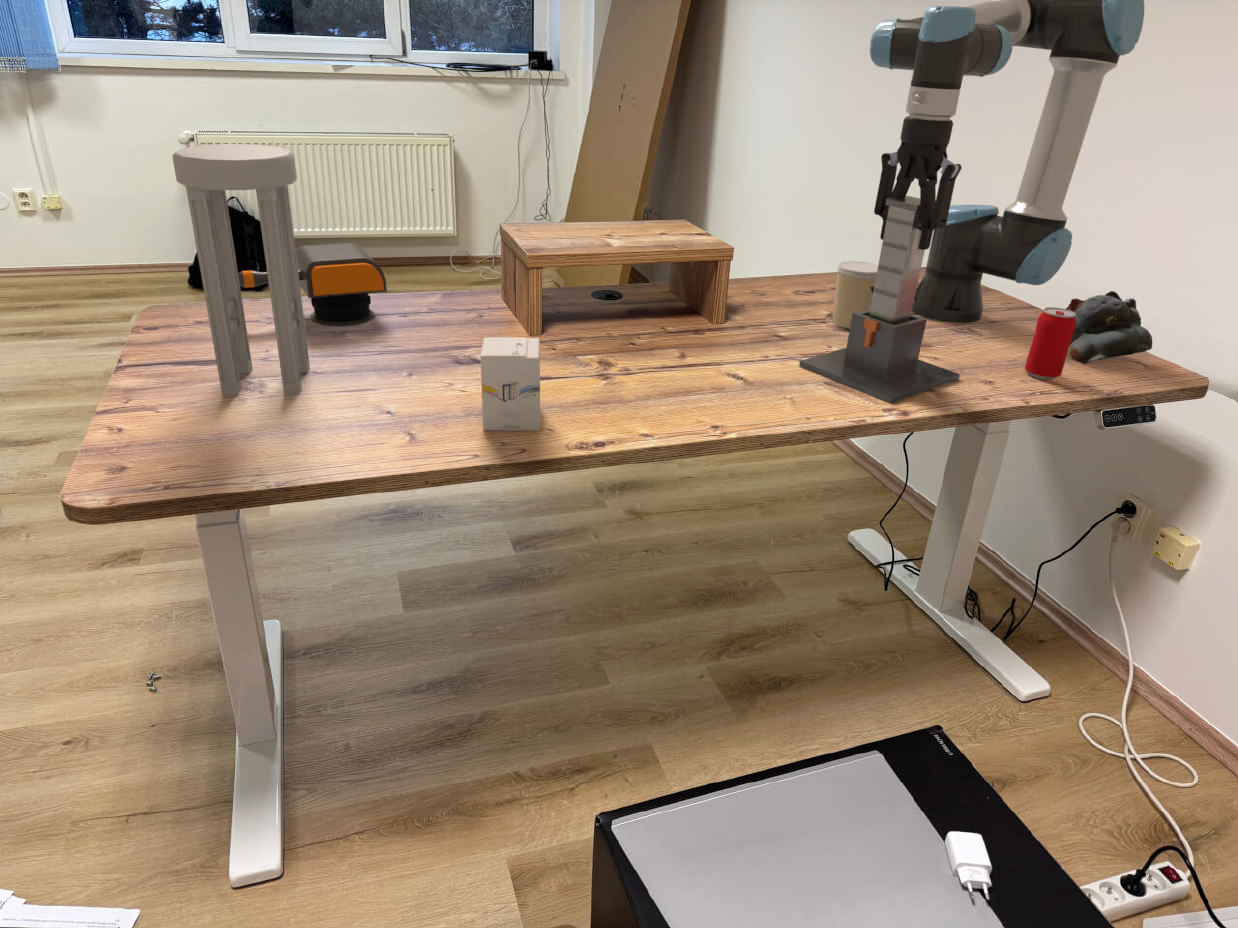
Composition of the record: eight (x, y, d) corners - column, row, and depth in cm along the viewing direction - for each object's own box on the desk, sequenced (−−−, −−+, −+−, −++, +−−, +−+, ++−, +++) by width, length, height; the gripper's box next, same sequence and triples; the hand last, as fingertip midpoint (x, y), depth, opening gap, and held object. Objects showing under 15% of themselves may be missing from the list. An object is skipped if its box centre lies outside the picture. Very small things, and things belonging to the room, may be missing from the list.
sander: (241, 314, 167) (231, 248, 162) (372, 302, 178) (367, 240, 172) (251, 338, 156) (241, 268, 150) (390, 324, 167) (385, 258, 161)
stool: (324, 363, 147) (299, 145, 131) (311, 399, 134) (282, 161, 118) (227, 364, 144) (189, 142, 128) (204, 401, 131) (159, 158, 115)
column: (884, 316, 156) (908, 196, 146) (912, 325, 152) (939, 202, 142) (863, 321, 152) (886, 198, 143) (892, 331, 148) (917, 205, 138)
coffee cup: (875, 333, 176) (886, 274, 171) (828, 328, 178) (838, 270, 172) (872, 319, 185) (883, 263, 179) (828, 314, 186) (837, 259, 181)
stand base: (867, 346, 169) (877, 293, 164) (958, 379, 155) (972, 323, 150) (799, 365, 157) (807, 309, 152) (891, 403, 144) (903, 343, 139)
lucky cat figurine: (1070, 365, 164) (1062, 292, 165) (1060, 370, 176) (1052, 302, 176) (1160, 353, 160) (1152, 278, 160) (1144, 359, 171) (1135, 289, 171)
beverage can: (1058, 372, 161) (1077, 309, 156) (1061, 383, 156) (1081, 319, 150) (1022, 366, 163) (1039, 304, 157) (1024, 377, 158) (1042, 313, 152)
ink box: (484, 407, 134) (482, 335, 129) (539, 408, 135) (540, 336, 130) (481, 431, 127) (479, 355, 121) (539, 431, 127) (540, 356, 122)
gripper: (867, 111, 140) (843, 254, 151) (967, 124, 128) (933, 280, 139) (895, 110, 145) (870, 250, 155) (994, 123, 132) (959, 274, 143)
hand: (900, 263), depth 147 cm, fingers closed on column, 5 cm apart
